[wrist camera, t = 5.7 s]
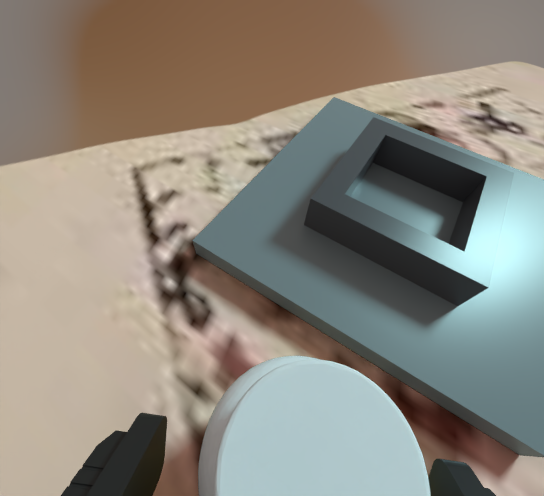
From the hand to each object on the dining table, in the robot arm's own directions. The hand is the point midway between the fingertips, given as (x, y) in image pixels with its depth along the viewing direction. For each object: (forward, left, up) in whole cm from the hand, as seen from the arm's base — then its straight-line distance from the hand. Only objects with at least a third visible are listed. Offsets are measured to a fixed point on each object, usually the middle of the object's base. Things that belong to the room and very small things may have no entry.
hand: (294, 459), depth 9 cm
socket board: (0, -16, -6) cm, 17 cm away
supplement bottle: (0, 0, -6) cm, 6 cm away
